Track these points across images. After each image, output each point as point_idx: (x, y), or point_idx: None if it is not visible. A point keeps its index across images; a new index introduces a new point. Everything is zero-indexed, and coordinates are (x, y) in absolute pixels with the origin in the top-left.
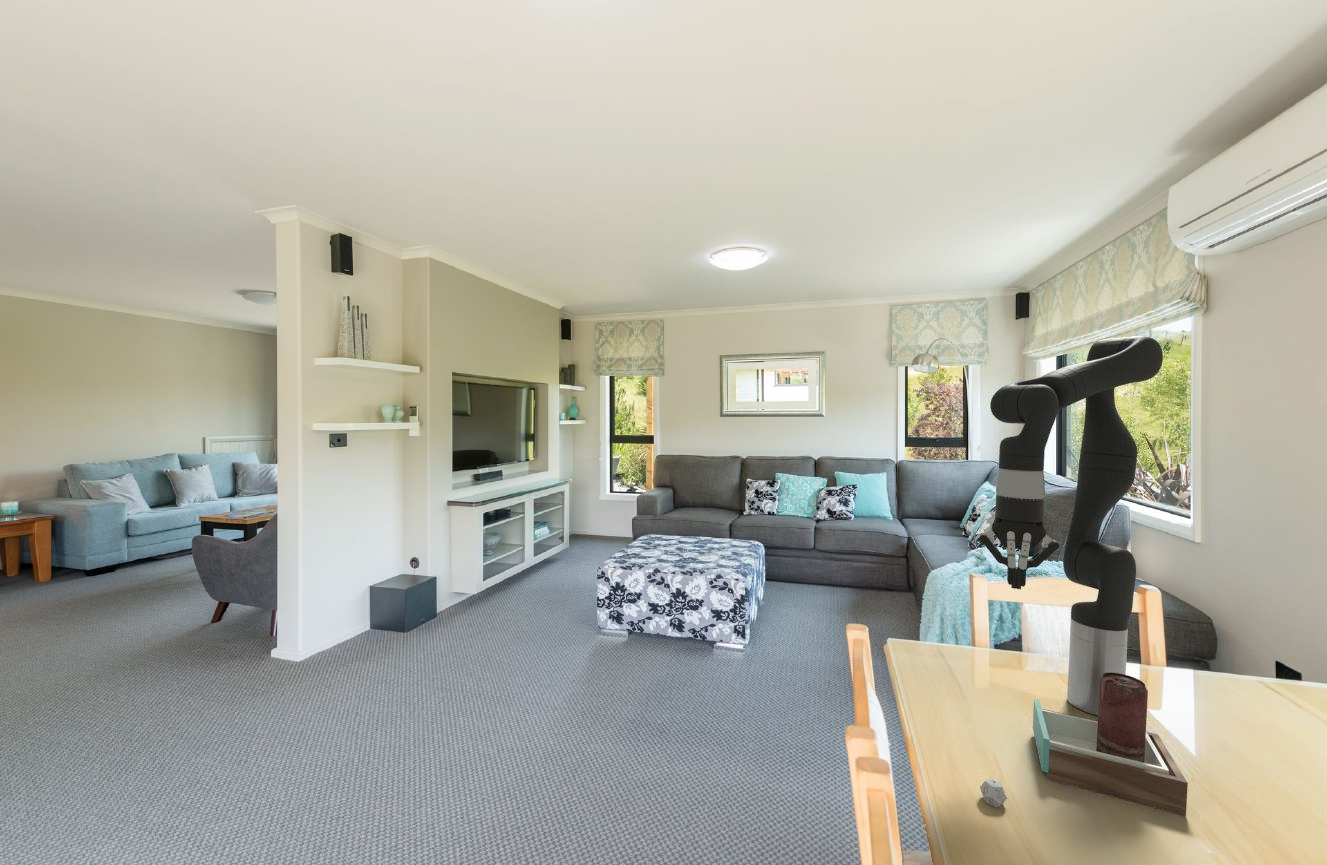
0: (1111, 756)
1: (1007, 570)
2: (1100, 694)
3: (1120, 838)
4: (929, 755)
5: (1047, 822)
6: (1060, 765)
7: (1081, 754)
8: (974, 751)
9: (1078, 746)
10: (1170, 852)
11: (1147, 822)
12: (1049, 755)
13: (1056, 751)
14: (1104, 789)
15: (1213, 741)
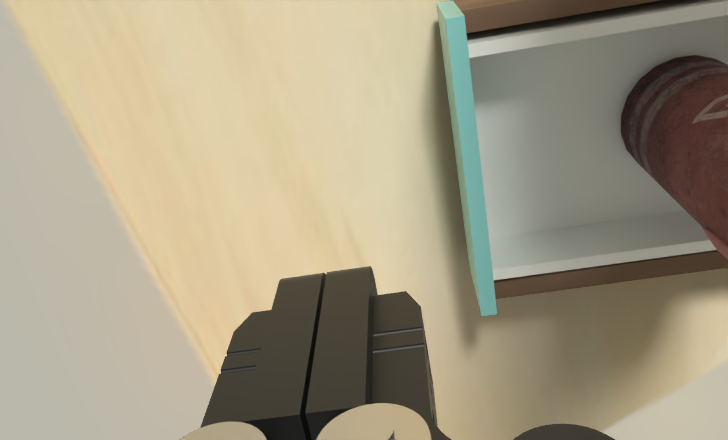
0: (657, 254)
1: (208, 410)
2: (707, 219)
3: (611, 384)
4: (209, 328)
5: (479, 417)
6: None
7: (576, 273)
8: (299, 237)
9: (572, 82)
10: (698, 372)
11: (680, 295)
12: None
13: (511, 294)
14: None
15: None
